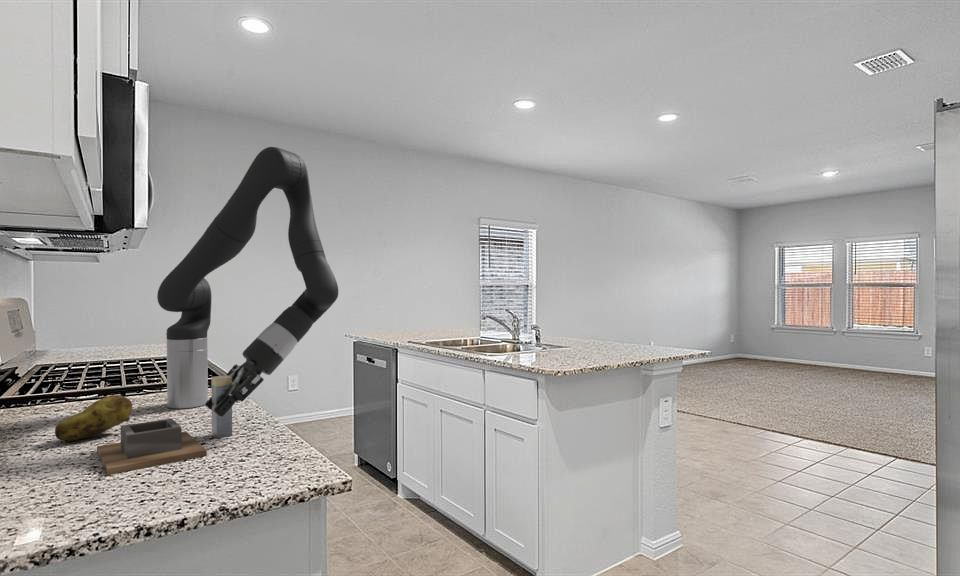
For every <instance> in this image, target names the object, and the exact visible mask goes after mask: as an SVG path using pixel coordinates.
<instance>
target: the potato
mask: <svg viewBox="0 0 960 576" xmlns="http://www.w3.org/2000/svg"><path fill="white" fill-rule="evenodd" d="M133 406H134V405H133V402H132V401H131V400H130V399H129V398H128V397H125V396H123V395H117V394H115V395H114V394H113V395H109V396H105V397H102V398H100V399H98V400H96V401H94V402H93V403H91V404H90V405H89V406H88V407H86V408H85V409H84V410H82V411H81V412H78V413H75V414H73V415H71V416H69V417H67V418H65V419H64V420H62V421H60V422H59V423H58V424H57V425H56V426H55V428H54V431H55V432H54V434H55V438H56V439H58V440H59V441H62V442H67V443H68V442H73V441H77V440H83V439H84V440H85V439H88V438H92V437H96V436H99V435H101V434H103V433H106V432H107V431H109V430H110V429H112V428H114V427H117V426H118V425H121V424H122V423H124V422H129V421H130V420H131V418H130V416H131V415H132V410H133Z"/></svg>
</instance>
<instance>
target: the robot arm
mask: <svg viewBox="0 0 960 576" xmlns="http://www.w3.org/2000/svg"><path fill="white" fill-rule="evenodd" d="M307 168H308V167H307V165H306V162H305V160H304V159H303V158H302V157H301V156H299V154H296V153H295V152H291V151H289V150H286V149H284V148H280V147H277V146H267V147H265V148H264V149H262V150H261V151H259V153H258V154H257V155H256V156H255V158H254V159H253V160H252V162H251V164H250V166H249V167H248V169H247V171H246V173H245V174H244V176H243V178H242V179H241V181H240V183H239V184H238V185H237V188H236V189H235V190H234V191H233V193H232V194H231V196H230V198H229V199H228V200H227V201H226V203H225V205H224V206H223V208H222V209H221V210H220V211H219V212H218V214H217V215H216V216H215V217H214V219H213V220H212V221H211V223H210V224H209V226H208V227H207V228H206V230H205V231H204V233H203V234H202V236H201V237H200V238H199V239H198V240H197V242H196V243H195V244H194V246H192V248H190V251H189V252H188V253H187V254H186V255H185V257H184V258H183V259H182V260H181V261H180V262H179V263H178V264H177V265H176V266H175V267H174V269H172V270H171V271H170V272H169V273H168V275H166V276H165V278H164V279H163V280H162V282H161V283H160V285H159V287H158V290H157V295H156V298H157V303H158V305H159V306H160V308H162V309H163V310H164V311H167V312H171V313H172V312H173V313H181V314H180V315H181V317H180V318H179V319H178V321H176V322H175V323H174V324H172V325H170V326H169V327H167V329H166V334H165V335H166V397H167V398H166V399H167V400H166V402H167V404H166V406H167V408H169V409H189V408H190V409H191V408H196V407H201V406H205V407H206V408H208V409H210V411H212V396H211V397H210V398H209V396H208V395H209V391H208V390H209V381H208V379H209V372H208V370H209V369H208V368H209V367H208V363H209V362H208V357H209V356H208V331H209V328H210V327H211V320H212V319H211V318H212V317H211V315H212V313H211V312H212V289H211V286H210V284H209V282H208V280H207V279H205V277H207V276H208V275H209V274H210V273H212V272H213V271H215V270H216V269H219V268H220V267H222V266H223V265H225V264H227V263H228V262H229V261H231V260H232V259H234V258H235V257H236V256H237V255H239V254H240V253H241V252H242V250H244V248H245V247H246V245H247V244H248V243H249V241H250V240H251V239H252V237H253V236H254V234H255V232H256V226H257V218H258V216H257V215H258V212H259V208H260V205H261V204H262V202H263V201H264V200H265V199H266V198H267V196H268V195H269V194H270V193H271V192H272V190H274V189H278V190H282V191H283V193H284V195H285V198H286V200H287V203H288V206H289V223H288V230H287V231H288V232H287V236H288V237H287V238H288V244H289V248H290V250H291V253H292V257H293V260H294V264H295V266H296V268H297V270H298V272H300V273H301V276H302V278H303V282H304V285H305V289H304V291H303V292H302V293H301V294H300V295H299V296H298V297H297V298H296V300H295V301H294V302H293V303H292V304H291V305H290V306H288V307H286V309H284V310H283V311H282V312H281V313H280V315H278V316H277V317H276V319H274V321H273V322H272V323H270V324H269V325H268V326H266V327H265V329H263V330H262V332H261V333H259V335H258V336H257V337H256V338H255V339H254V340H253V341H252V342H251V343H250V344H249V345H248V346H247V347H246V348H245V349H244V350H243V351H242V356H243V357H244V359H245V361H244V362H243V363H242V364H241V365H238V364H234V365H233V366H232V367H231V369H230V370H229V371H228V372H227V373H226V374H225V375H228V376H230V377H232V388H231V390H230V391H229V393H228V394H227V395H228V396H225V397H224V398H223V400H222V401H221V402H220V403H219V404H218V405H217V406H216V407H215V408H214V412H215V413H217V414H218V415H219V416H224V415H225V413H226V412H227V411H228V410H229V409H230V408H231V407H232V408H233V406H234V405H235V404H236V403H239V402H243V401H245V400H246V399H247V398H248V397H249V395H251V394H252V393H253V392H254V391H255V390H256V389H257V388H259V385H260V384H262V383H263V382H264V381H265V380H264V378H263V377H262V376H261V374H265V375H267V376H271V375H272V373H273V372H275V370H277V368H278V367H279V366H280V365H281V364H282V362H284V360H285V359H287V357H288V356H289V355H290V354H291V353H292V351H293V350H294V349H295V347H296V345H298V343H299V342H300V341H301V340H302V339H304V336H305V335H306V334H308V332H309V331H310V329H311V328H312V326H313V325H314V324H315V323H316V322H317V321H318V320H319V319H320V318H321V317H322V316H323V315H324V314H325V313H326V312H327V311H328V310H329V309H330V308H331V307H332V306H333V305H334V303H335V302H336V301H337V299H338V297H339V286H338V282H337V279H336V277H335V274H334V272H333V270H332V269H331V265H330V264H329V262H328V260H327V258H326V254H325V250H324V248H323V247H324V246H323V244H322V241H321V238H320V234H319V231H318V228H317V223H316V218H315V214H314V207H313V199H312V195H311V187H310V179H309V173H308V169H307ZM208 398H209V399H208Z"/></svg>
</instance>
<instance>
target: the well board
mask: <svg viewBox="0 0 960 576" xmlns="http://www.w3.org/2000/svg"><path fill="white" fill-rule="evenodd" d="M96 452H97V454H98V457H99V460H100V461H101V464H102V466H103V468H104V470H105V472H106V474H107V475H109V476H110V475H113V474H119V473H123V472H128V471H134V470H138V469H145V468H149V467H154V466H160V465H164V464H170V463H175V462H179V461H185V460H190V459H195V458H200V457H201V456H202V457H206V455H208V452H207V449H206V448H205V447H204V446H203V445H202V444H201V443H199V442H198V441H197V440H196V439H195V438H194V436H192V435H191V434H189V432H188V431H182V426H180V424H178V422H176V421H175V420H174V419H173V418H166V419H159V420H153V421H146V422H139V423H131V424H125V425H120V442H114V443H109V444H104V445H97V446H96Z"/></svg>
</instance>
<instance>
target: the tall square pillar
mask: <svg viewBox="0 0 960 576" xmlns="http://www.w3.org/2000/svg"><path fill="white" fill-rule="evenodd" d="M210 379H211V397H212V410H211V432H212V433H211V435H212V436H213V437H214V438H216V439H219V438H220V439H221V438H224V437H231V436H233V406H232V407H231V408H230V409H229V410H228V411H227V412H226V413H225V415H224V416H219V415H218V414H217V413H215V412H214V408H215V407H216V406H217V405H218V404H219V403H220V402H221V401H222V400H223V398H224V397H225V396H228V395H227V394H228V393H229V391H230V390H231V388H232V377H230V376H228V375H226V374H225V375H218V376H211V377H210Z"/></svg>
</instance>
